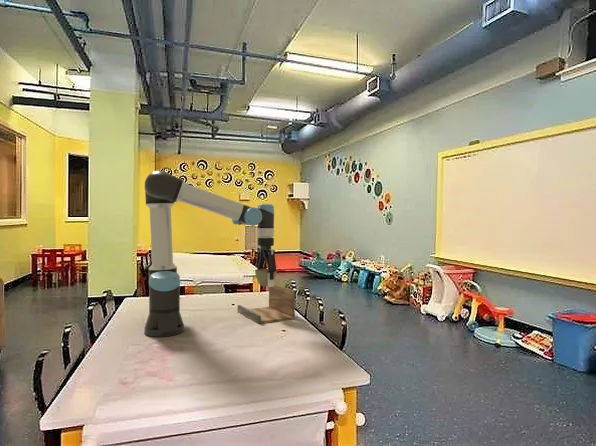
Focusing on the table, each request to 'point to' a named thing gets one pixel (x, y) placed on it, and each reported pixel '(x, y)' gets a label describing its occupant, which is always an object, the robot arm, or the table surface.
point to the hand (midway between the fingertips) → (265, 284)
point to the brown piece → (273, 307)
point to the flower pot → (262, 276)
